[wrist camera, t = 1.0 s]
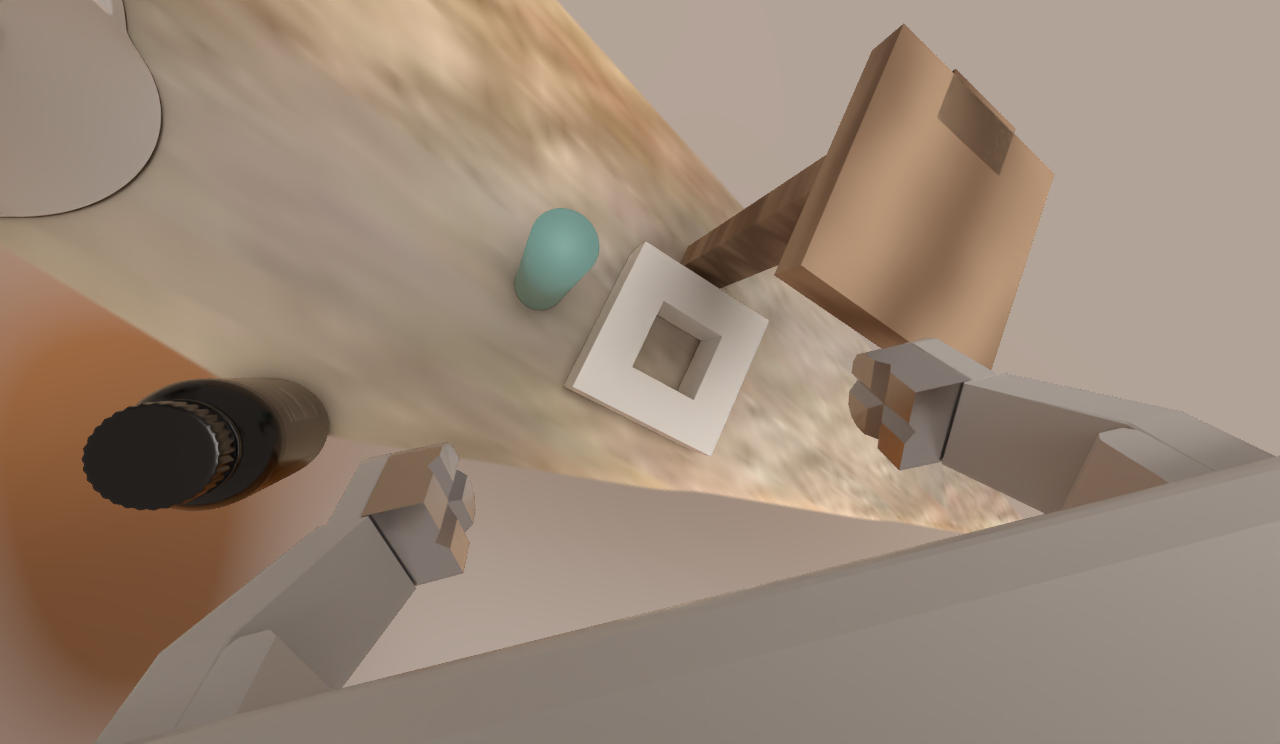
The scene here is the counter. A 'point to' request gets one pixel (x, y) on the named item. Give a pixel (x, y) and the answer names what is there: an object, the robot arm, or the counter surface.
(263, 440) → the supplement bottle
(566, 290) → the peg
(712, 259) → the brown wooden overhang stand
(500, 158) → the counter surface
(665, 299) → the socket
